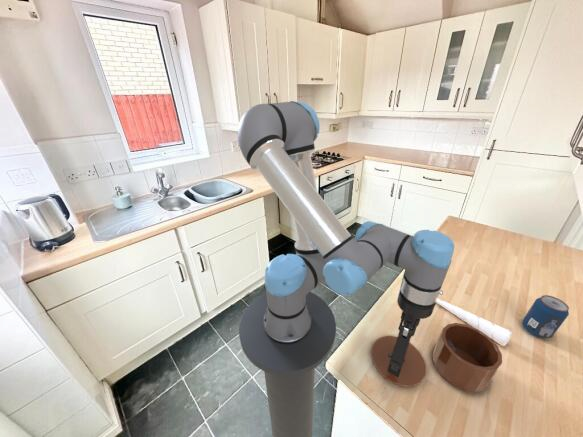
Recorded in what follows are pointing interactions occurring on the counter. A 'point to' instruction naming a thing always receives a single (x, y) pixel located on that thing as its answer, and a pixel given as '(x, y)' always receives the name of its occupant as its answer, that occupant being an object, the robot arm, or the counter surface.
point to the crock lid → (411, 367)
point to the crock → (466, 357)
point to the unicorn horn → (479, 323)
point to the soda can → (545, 316)
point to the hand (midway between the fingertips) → (400, 352)
